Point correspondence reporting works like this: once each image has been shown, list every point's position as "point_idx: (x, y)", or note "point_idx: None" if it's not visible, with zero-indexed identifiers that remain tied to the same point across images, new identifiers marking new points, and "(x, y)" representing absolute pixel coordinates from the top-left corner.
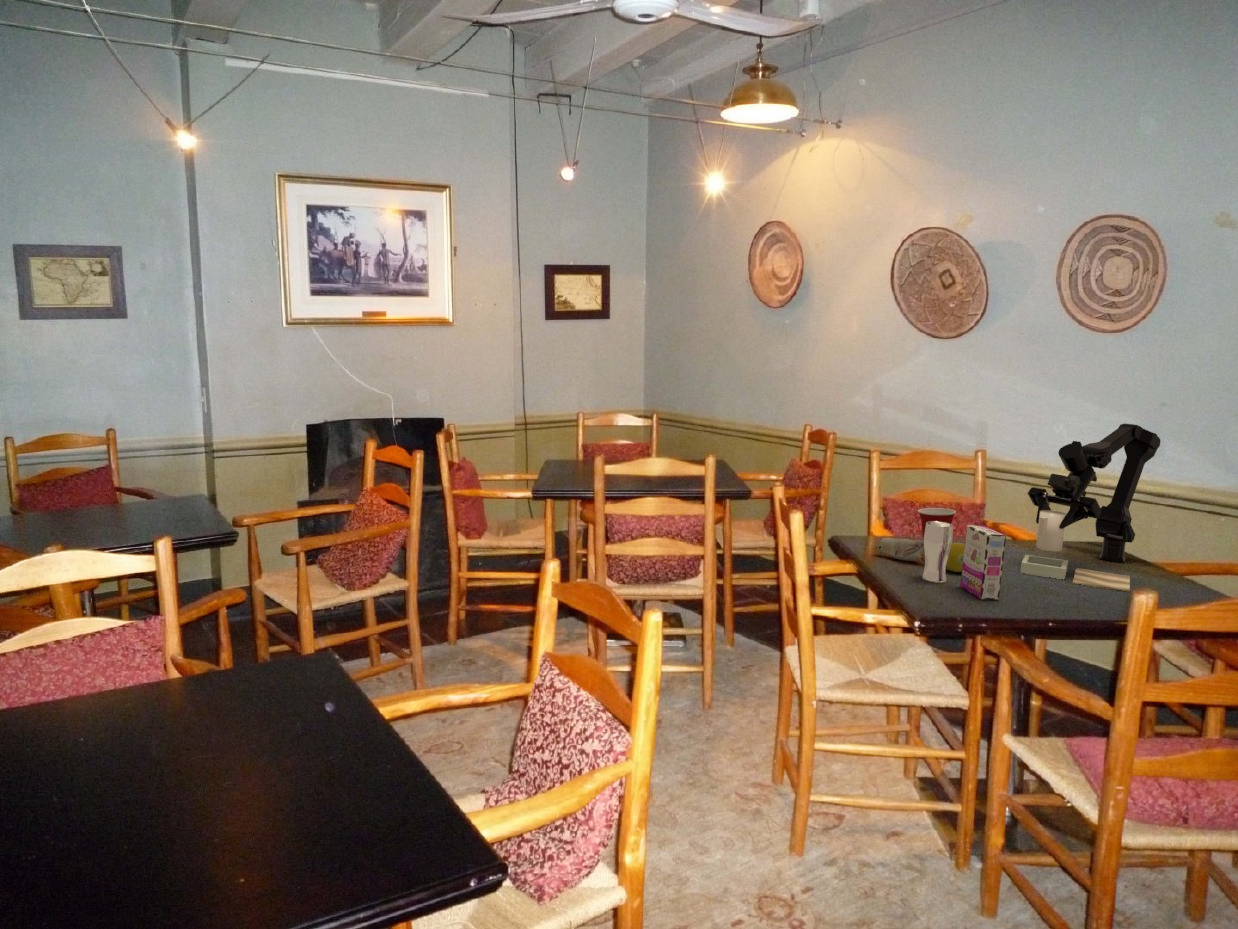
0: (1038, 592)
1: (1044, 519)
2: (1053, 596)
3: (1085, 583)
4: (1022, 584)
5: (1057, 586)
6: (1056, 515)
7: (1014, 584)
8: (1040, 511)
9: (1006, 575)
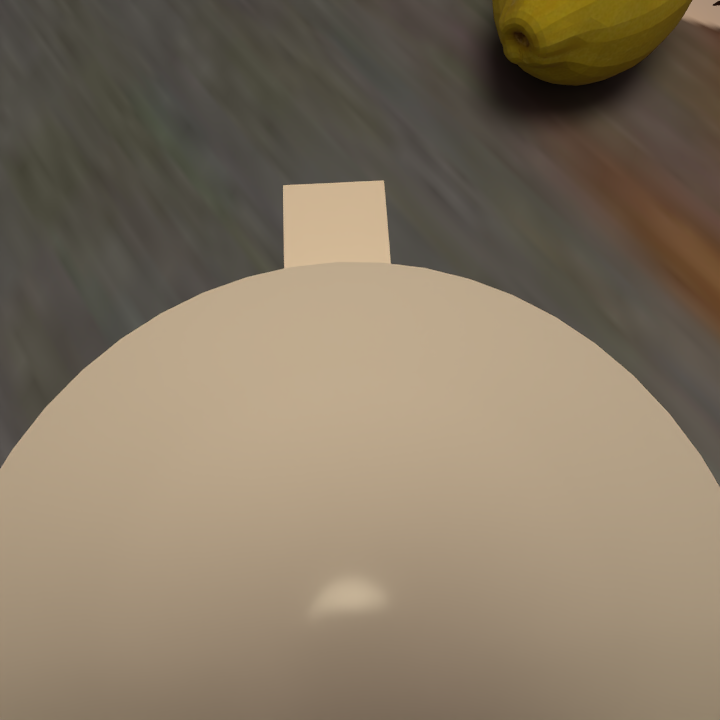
0: (106, 127)
1: (287, 221)
2: (22, 137)
3: None
4: (242, 171)
5: (112, 323)
6: (68, 384)
7: (263, 133)
8: (640, 405)
9: (412, 238)
